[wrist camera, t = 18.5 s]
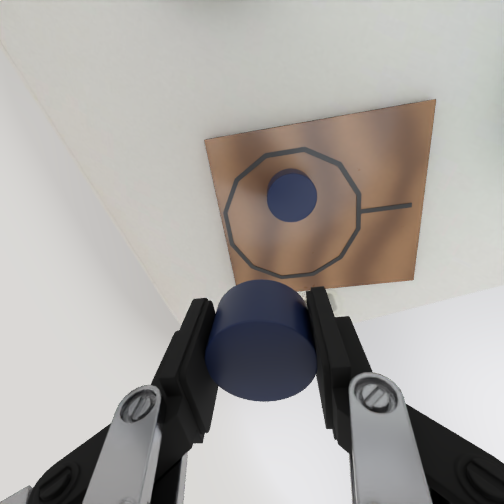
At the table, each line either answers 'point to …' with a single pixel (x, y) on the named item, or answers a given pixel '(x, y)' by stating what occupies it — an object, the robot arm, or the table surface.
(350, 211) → the face mat
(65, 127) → the table surface
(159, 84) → the table surface
